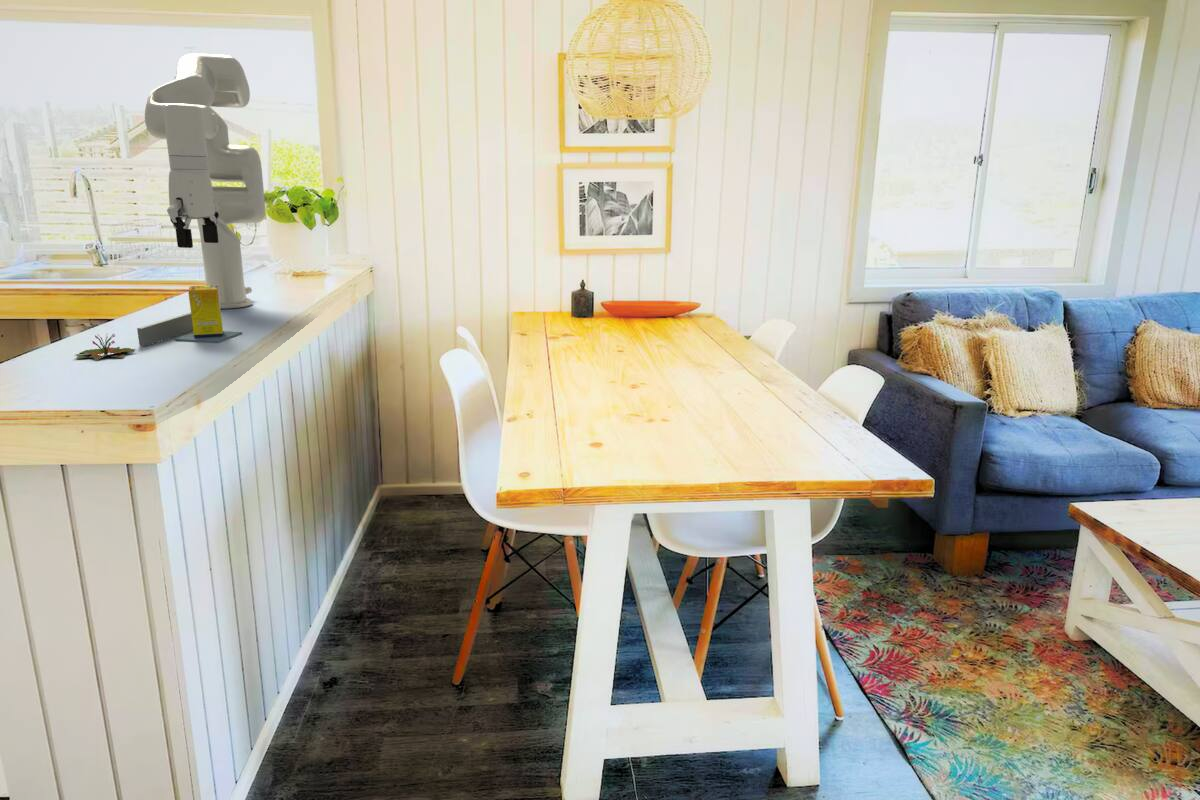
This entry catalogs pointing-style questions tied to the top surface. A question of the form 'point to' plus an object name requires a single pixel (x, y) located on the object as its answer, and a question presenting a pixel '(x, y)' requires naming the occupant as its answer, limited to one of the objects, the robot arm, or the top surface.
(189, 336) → the rubber mat
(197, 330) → the supplement box
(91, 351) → the lily flower
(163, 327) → the low wall
